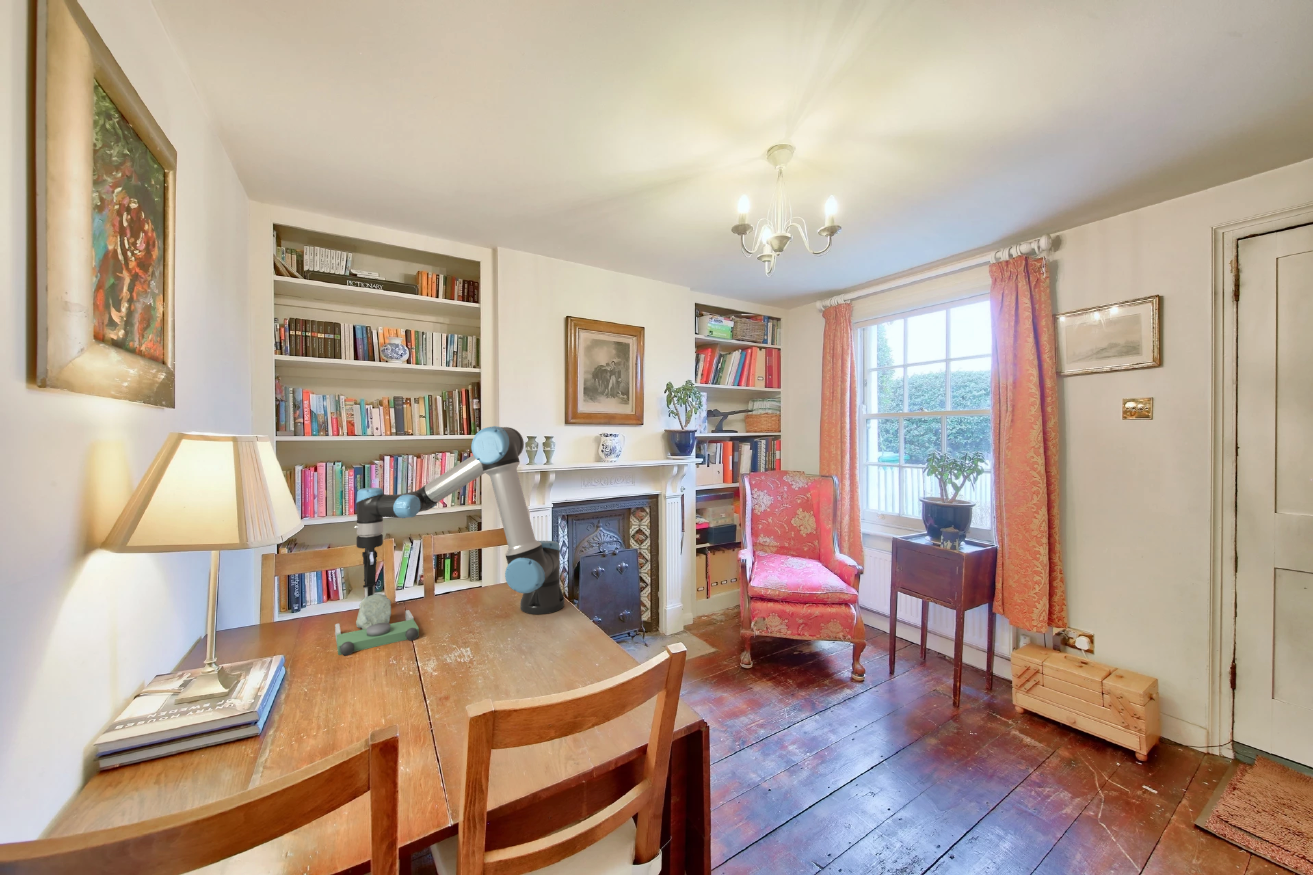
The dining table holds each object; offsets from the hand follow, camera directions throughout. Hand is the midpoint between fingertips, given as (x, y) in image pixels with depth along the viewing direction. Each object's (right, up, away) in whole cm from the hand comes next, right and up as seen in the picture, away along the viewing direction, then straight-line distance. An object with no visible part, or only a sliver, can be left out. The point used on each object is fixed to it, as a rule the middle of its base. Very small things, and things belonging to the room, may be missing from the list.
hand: (369, 605), depth 157 cm
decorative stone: (+7, -4, -10) cm, 13 cm away
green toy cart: (+12, -4, -16) cm, 20 cm away
